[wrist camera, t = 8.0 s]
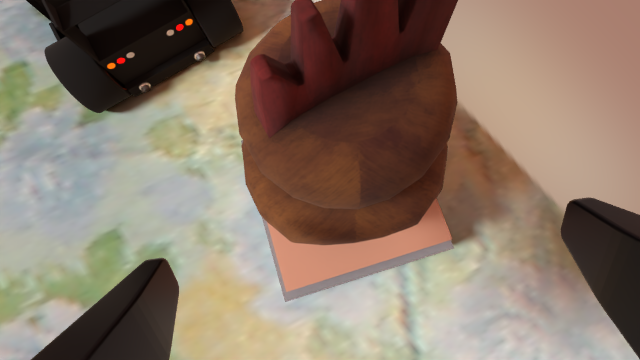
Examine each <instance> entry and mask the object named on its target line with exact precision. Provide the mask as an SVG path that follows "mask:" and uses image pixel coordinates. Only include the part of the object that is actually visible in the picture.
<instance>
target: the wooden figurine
mask: <svg viewBox="0 0 640 360" xmlns="http://www.w3.org/2000/svg"><path fill="white" fill-rule="evenodd" d="M457 1H458V0H322V1H319V2H316V3H313V1H312V0H295V1H294V2H293V3H292V6H291V15H289V16H288V17H286V18H285V19H283V20H281V21H280V22H279V23H277V24H276V25H275V26H274V27H273V28H272V29H271V30H270V31H269V32H268V33H267V34H266V36H265V37H264V38H263V39H262V40H261V41H260V42H259V43H258V44H257V45H256V47H255V48H254V49H253V50H252V51H251V52H250V54H249V56H248V58H247V61H246V63H245V65H244V67H243V70H242V72H241V74H240V77H239V79H238V81H237V84H236V93H235V101H236V109H237V117H238V126H239V134H240V135H241V137H242V139H243V143H242V152H243V160H244V170H245V180H246V185H247V187H248V190H249V192H250V194H251V196H252V198H253V200H254V202H255V204H256V206H257V209H258V211H259V213H260V215H261V216H262V217H263V218H264V220H265V221H267V222H268V223H269V224H270V225H271V226H273V227H274V228H275V229H276V230H277V231H278V232H280V233H281V234H282V235H283V236H284V237H286V238H287V239H288V240H289V241H290V242H293V243H301V244H313V245H337V244H350V243H357V242H363V241H368V240H373V239H378V238H383V237H386V236H388V235H391V234H394V233H397V232H399V231H402V230H405V229H408V228H410V227H413V226H415V225H417V224H418V223H419V222H420V220H421V219H422V217H423V216H424V214H425V213H426V212H427V210H428V209H429V207H430V206H431V204H432V203H433V202H434V200H435V199H436V197H437V196H438V194H439V193H440V191H441V190H442V187H443V180H444V173H445V166H446V159H447V142H448V140H449V138H450V133H451V128H452V124H453V119H454V115H455V110H456V106H457V93H456V85H455V79H454V74H453V68H452V62H451V56H450V53H449V52H448V51H447V50H446V48H445V47H444V46H443V45H442V44H441V43H440V42H441V40H442V38H443V35H444V33H445V30H446V28H447V26H448V23H449V21H450V18H451V16H452V13H453V11H454V9H455V6H456V3H457Z"/></svg>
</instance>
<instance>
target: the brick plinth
mask: <svg viewBox="0 0 640 360" xmlns="http://www.w3.org/2000/svg"><path fill="white" fill-rule="evenodd" d="M241 142H242V143H243V140H242V141H241ZM262 219H263V223H264V226H265V230H266V233H267V237H268V241H269V244H270V248H271V252H272V255H273V259H274V263H275V266H276V270H277V274H278V277H279V281H280V285H281V288H282V292H283V296H284V299H285V302H286V301H290V300H293V299H296V298H299V297H302V296H305V295H308V294H312V293H315V292H318V291H321V290H324V289H327V288H330V287H334V286H337V285H340V284H343V283H346V282H349V281H352V280H356V279H359V278H362V277H365V276H368V275H371V274H374V273H378V272H381V271H384V270H387V269H390V268H393V267H396V266H400V265H403V264H406V263H409V262H412V261H415V260H418V259H422V258H425V257H428V256H431V255H434V254H437V253H440V252H444V251H447V250H450V249H453V248H454V247H453V244H452V242H451V240H452V237H451V234H450V232H449V229H448V227H447V224H446V221H445V219H444V216H443V214H442V211H441V208H440V206H439V203H438V201H437V198H436V199H435V200H434V202H433V203H432V204H431V206H430V207H429V209H428V210H427V212H426V213H425V214H424V216H423V217H422V219H421V220H420V222H419V223H418V224H417V225H415V226H413V227H410V228H408V229H405V230H402V231H399V232H397V233H394V234H391V235H388V236H386V237H383V238H378V239H373V240H368V241H363V242H357V243H350V244H337V245H313V244H301V243H293V242H290V241H289V240H288V239H287V238H286V237H284V236H283V235H282V234H281V233H280V232H278V231H277V230H276V229H275V228H274V227H273V226H271V225H270V224H269V223H268V222H267V221H265V220H264V218H263V217H262Z"/></svg>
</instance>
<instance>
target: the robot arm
mask: <svg viewBox="0 0 640 360" xmlns="http://www.w3.org/2000/svg"><path fill="white" fill-rule="evenodd" d="M561 236H562V239H563V241H564V243H565V245H566V246H567V248H568V250H569V252H570V253H571V255H572V257H573V259H574V260H575V262H576V264H577V266H578V267H579V269H580V271H581V273H582V274H583V276H584V278H585V280H586V281H587V283H588V285H589V287H590V288H591V290H592V292H593V293H594V295H595V296H596V298H597V300H598V301H599V303H600V304H601V306H602V307H603V309H604V310H605V311H606V313H607V314H608V316H609V317H610V318H611V320H612V321H613V323H614V324H615V325H616V327H617V328H618V330H619V331H620V332H621V334H622V335H623V337H624V338H625V339H626V341H627V342H628V344H629V345H630V346H631V348H632V349H633V350H634V352H635V353H636V355H637V356H638V357H639V359H640V215H638V214H635V213H633V212H630V211H627V210H624V209H621V208H619V207H616V206H613V205H611V204H608V203H605V202H602V201H599V200H597V199H594V198H582V199H575V200H572V201H570V202H569V203H568V205H567V207H566V211H565V215H564V219H563V223H562V226H561ZM178 297H179V285H178V282H177V280H176V278H175V276H174V274H173V271H172V269H171V267H170V265H169V263H168V261H167V260H166V259H164V258H156V259H149V260H146V261H144V262H143V263H142V264H141V265H139V266H138V267H137V268H136V269H135V270H134V271H132V272H131V273H130V274H129V275H128V276H127V277H126V278H124V279H123V280H122V281H121V282H120V283H119V284H117V285H116V286H115V287H114V288H113V289H112V290H111V291H109V292H108V293H107V294H106V295H105V296H104V297H103V298H101V299H100V300H99V301H98V302H97V303H96V304H94V305H93V306H92V307H91V308H90V309H89V310H88V311H86V312H85V313H84V314H83V315H82V316H81V317H79V318H78V319H77V320H76V321H75V322H74V323H73V324H71V325H70V326H69V327H68V328H67V329H66V330H65V331H63V332H62V333H61V334H60V335H59V336H58V337H56V338H55V339H54V340H53V341H52V342H51V343H50V344H48V345H47V346H46V347H45V348H44V349H43V350H41V351H40V352H39V353H38V354H37V355H36V356H35V357H33V358H32V359H31V360H169V358H170V352H171V346H172V339H173V332H174V325H175V318H176V311H177V304H178Z"/></svg>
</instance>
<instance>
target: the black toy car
mask: <svg viewBox="0 0 640 360" xmlns="http://www.w3.org/2000/svg"><path fill="white" fill-rule="evenodd" d="M26 1H28V2H29V3H30V4H31V5H32V6H34V7H35V8H36V9H37V10H38V11H39V12H41V13H42V14H43V15H44V16H45V17H47V18H48V19H49V20H50V21H51V23H49V25H50V27H51V29H52V31H53V33H54V35H55V37H56V39H57V42H55V43H53V44H52V45H50V46H48V47H46V49H45V56H46V59H47V62H48V64H49V66H50V67H51V69H52V71H53V72H54V74H55V75H56V77H57V78H58V79H59V81H60V82H61V83H62V84H63V86H64V87H65V88H66V89H67V90H68V91H69V92H70V94H71V95H72V96H73V97H74V98H76V99H77V100H78V101H79V102H80V103H81V104H82V105H84V106H85V107H86V108H88V109H90V110H91V111H94V112H96V113H101V112H103V111H105V110H106V109H108V108H110V107H112V106H113V105H115V104H117V103H119V102H120V101H122V100H124V99H126V98H127V97H129V96H131V94H132V95H134V96H137V95H139V94H140V93H142V92H143V93H145V92H148V91H149V90H151V87H153V86H154V85H156V84H158V83H160V82H161V81H163V80H165V79H167V78H168V77H170V76H172V75H174V74H175V73H177V72H179V71H180V70H182V69H184V68H186V67H187V66H189V65H191V64H193V63H194V62H196V61H202V60H203V59H205V56H207V55H208V54H210V53H212V52H214V50H213V48H212V47H211V45H212V46H213V47H216V46H218V45H220V44H222V43H223V42H225V41H227V40H229V39H230V38H232V37H234V36H236V35H237V34H239V33H241V32H242V31H243V26H242V23H241V21H240V18H239V16H238V14H237V12H236V10H235V8H234V6H233V4H232V2H231V0H26ZM187 6H188V7H187ZM189 9H190V10H189ZM190 11H191V12H190ZM192 14H193V15H192ZM193 16H194V17H193ZM195 19H196V20H195ZM196 21H197V22H196ZM52 22H53V23H52ZM198 24H199V25H198ZM199 26H200V27H201V28H202V30H203V32H204V33H205V35H206V36H207V38H208V40H209V42H210V43H211V45H210V43H209V42H208V40H207V39H206V37H205V35H204V34H203V32H202V30H201V29H200V27H199Z"/></svg>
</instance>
